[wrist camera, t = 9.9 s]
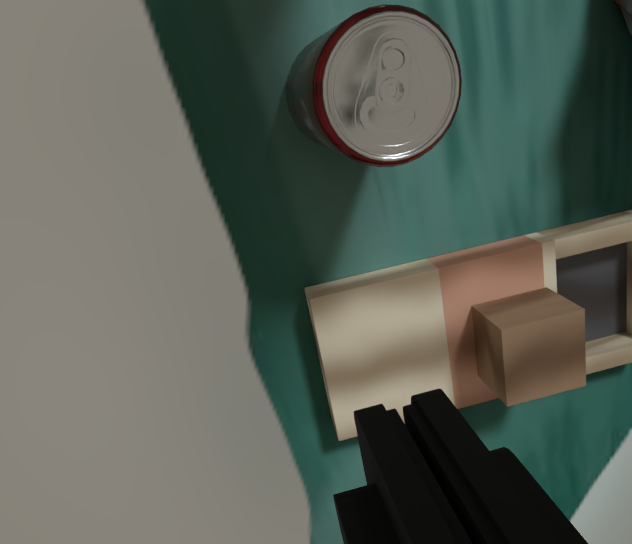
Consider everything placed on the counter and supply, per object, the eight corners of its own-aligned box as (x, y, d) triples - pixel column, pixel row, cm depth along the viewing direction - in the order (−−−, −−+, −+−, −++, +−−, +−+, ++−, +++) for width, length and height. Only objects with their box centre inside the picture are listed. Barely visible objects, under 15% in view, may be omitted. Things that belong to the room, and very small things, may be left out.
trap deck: (304, 287, 40) (309, 299, 37) (636, 208, 42) (660, 214, 40) (332, 422, 44) (338, 441, 41) (634, 342, 46) (656, 355, 44)
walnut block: (471, 305, 40) (501, 329, 35) (546, 287, 40) (584, 309, 36) (478, 375, 42) (507, 406, 37) (549, 357, 42) (586, 385, 38)
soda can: (384, 151, 38) (453, 173, 26) (281, 143, 36) (308, 162, 25) (397, 40, 36) (479, 12, 24) (289, 27, 34) (322, -9, 23)
